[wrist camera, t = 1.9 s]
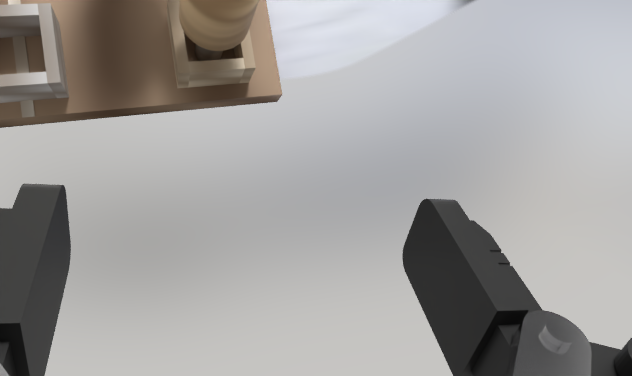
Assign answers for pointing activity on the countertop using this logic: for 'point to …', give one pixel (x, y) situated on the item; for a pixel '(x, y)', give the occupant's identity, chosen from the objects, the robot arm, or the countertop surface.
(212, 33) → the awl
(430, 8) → the countertop surface
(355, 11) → the countertop surface
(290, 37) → the countertop surface
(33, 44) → the plank
